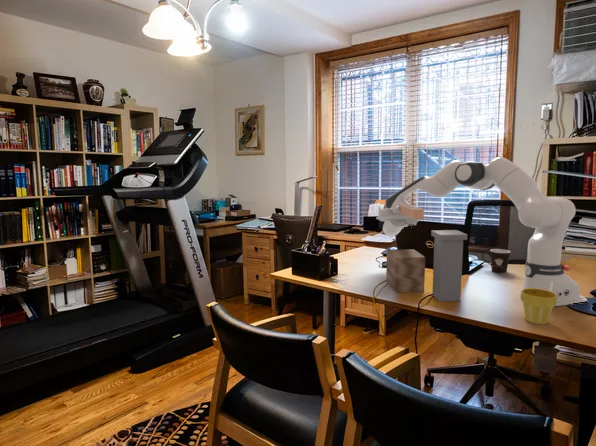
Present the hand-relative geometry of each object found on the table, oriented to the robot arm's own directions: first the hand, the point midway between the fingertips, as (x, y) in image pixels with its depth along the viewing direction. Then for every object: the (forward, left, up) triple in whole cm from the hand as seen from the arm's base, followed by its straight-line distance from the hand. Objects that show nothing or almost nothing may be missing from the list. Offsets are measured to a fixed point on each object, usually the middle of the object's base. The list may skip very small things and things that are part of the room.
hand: (405, 207), depth 184 cm
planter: (0, +8, -3) cm, 8 cm away
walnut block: (+3, +11, -33) cm, 34 cm away
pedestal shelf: (-9, +26, -33) cm, 43 cm away
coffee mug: (-48, -11, -33) cm, 59 cm away
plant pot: (-30, +51, -33) cm, 68 cm away
